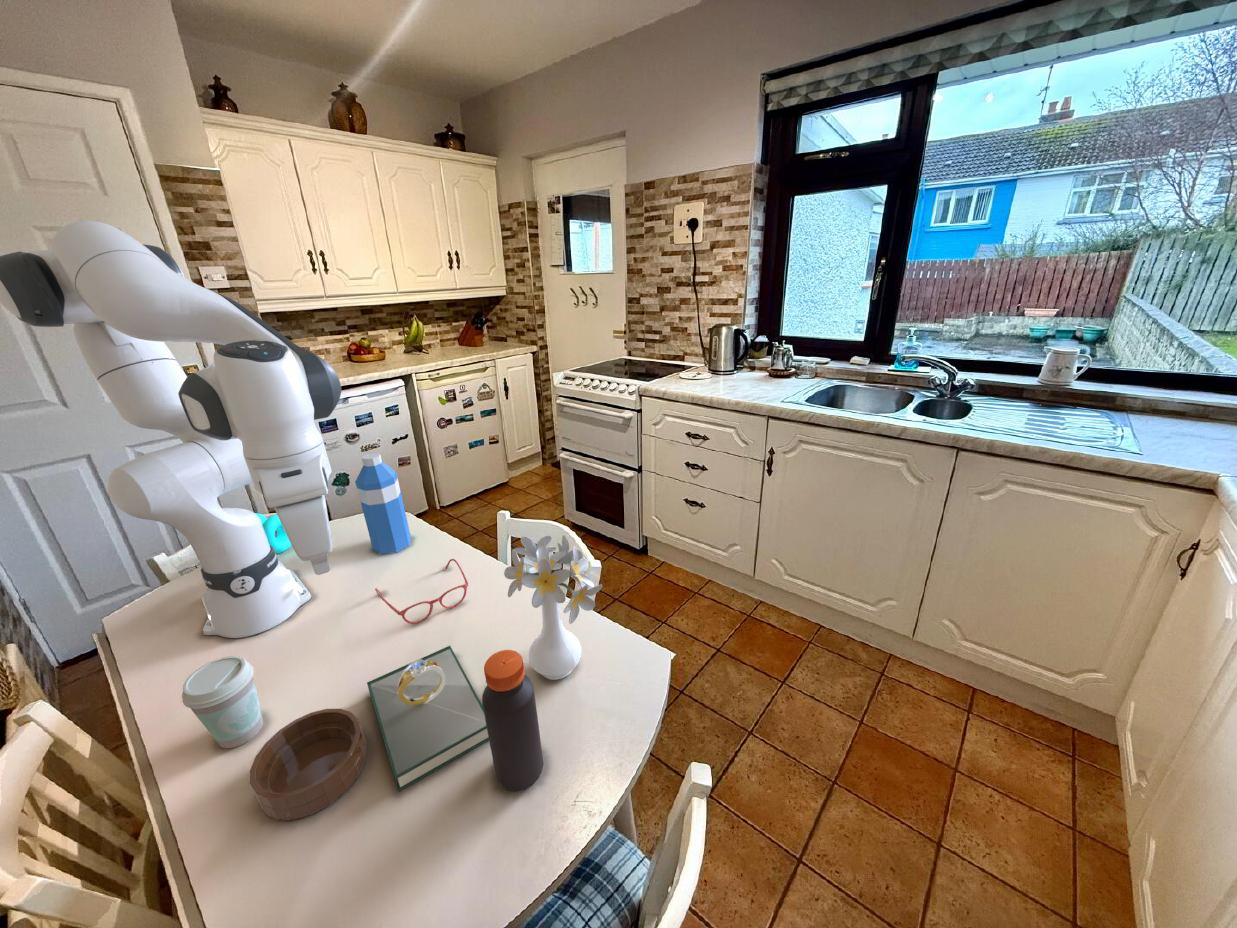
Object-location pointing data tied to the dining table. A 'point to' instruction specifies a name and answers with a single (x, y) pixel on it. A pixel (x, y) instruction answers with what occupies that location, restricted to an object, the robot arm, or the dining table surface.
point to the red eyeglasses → (429, 601)
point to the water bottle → (382, 505)
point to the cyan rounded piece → (270, 526)
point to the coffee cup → (225, 700)
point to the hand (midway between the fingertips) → (319, 555)
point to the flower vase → (552, 601)
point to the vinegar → (512, 721)
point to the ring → (416, 670)
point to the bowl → (308, 764)
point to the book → (428, 719)
